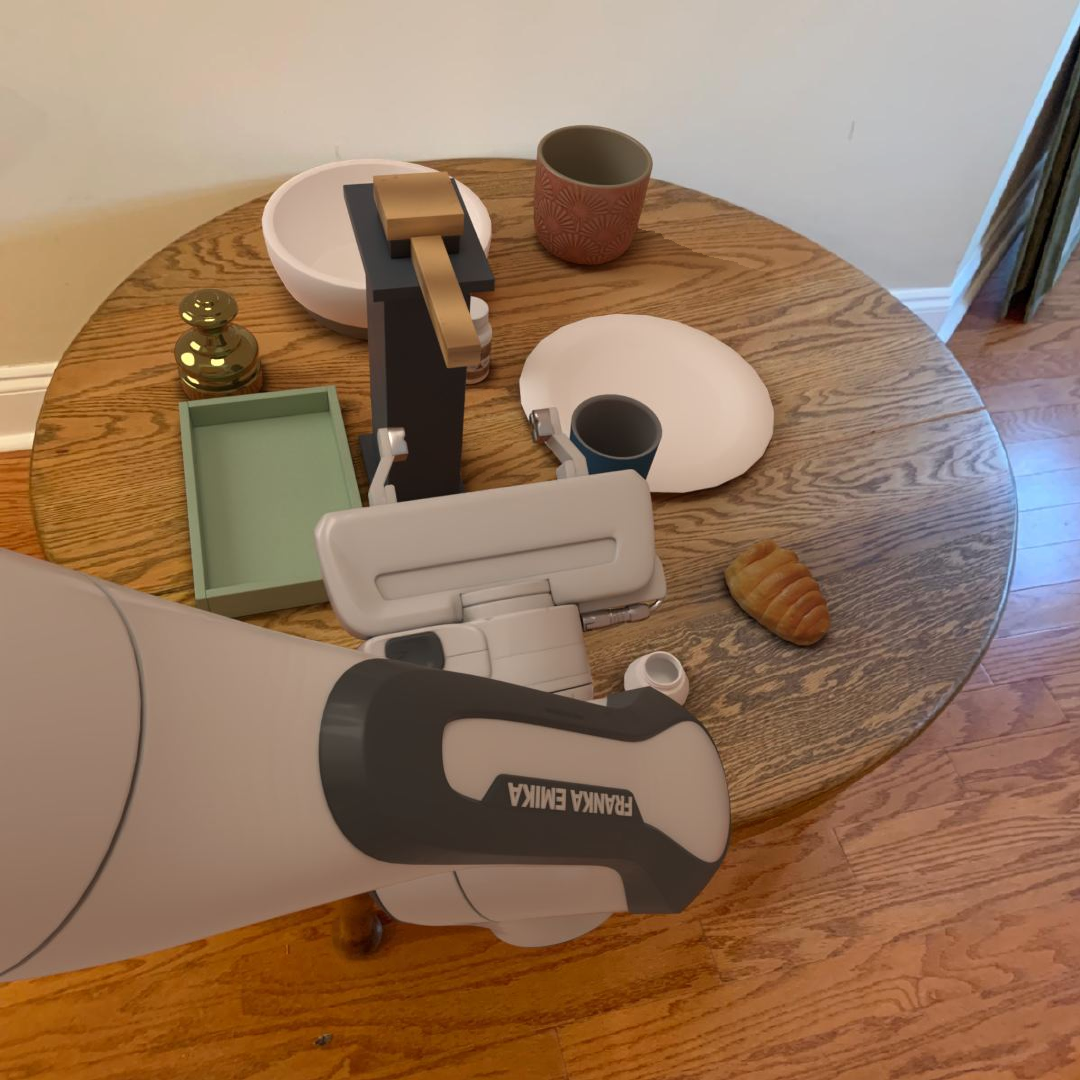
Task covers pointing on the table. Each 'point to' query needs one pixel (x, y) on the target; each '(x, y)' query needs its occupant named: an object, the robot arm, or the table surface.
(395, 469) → the stand
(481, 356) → the pill bottle
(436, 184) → the brush
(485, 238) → the bowl
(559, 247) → the planter
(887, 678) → the table surface
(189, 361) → the brass bell weight
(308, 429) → the tray
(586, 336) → the plate
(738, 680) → the table surface
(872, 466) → the table surface
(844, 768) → the table surface
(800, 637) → the pastry
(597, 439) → the cup
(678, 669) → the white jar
